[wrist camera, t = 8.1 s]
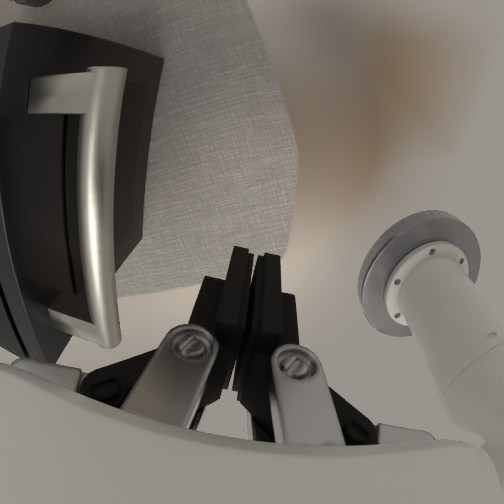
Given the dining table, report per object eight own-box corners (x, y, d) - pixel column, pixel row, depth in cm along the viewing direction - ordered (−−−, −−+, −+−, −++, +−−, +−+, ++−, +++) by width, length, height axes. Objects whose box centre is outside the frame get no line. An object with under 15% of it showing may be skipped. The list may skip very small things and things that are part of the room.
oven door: (211, 62, 20) (105, -3, 5) (180, 247, 29) (111, 396, 13) (147, 57, 20) (-10, 31, 4) (128, 235, 28) (32, 362, 13)
